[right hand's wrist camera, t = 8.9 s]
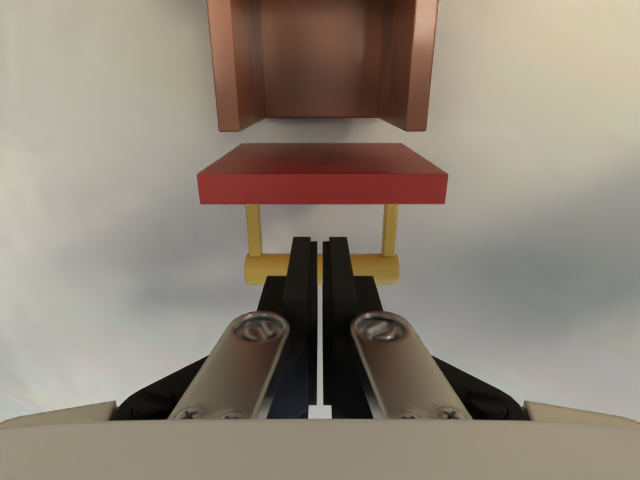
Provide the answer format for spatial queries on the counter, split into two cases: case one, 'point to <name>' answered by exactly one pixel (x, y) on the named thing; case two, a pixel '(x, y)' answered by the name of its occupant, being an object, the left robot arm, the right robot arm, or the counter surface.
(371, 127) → the counter surface
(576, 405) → the counter surface
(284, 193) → the drawer
